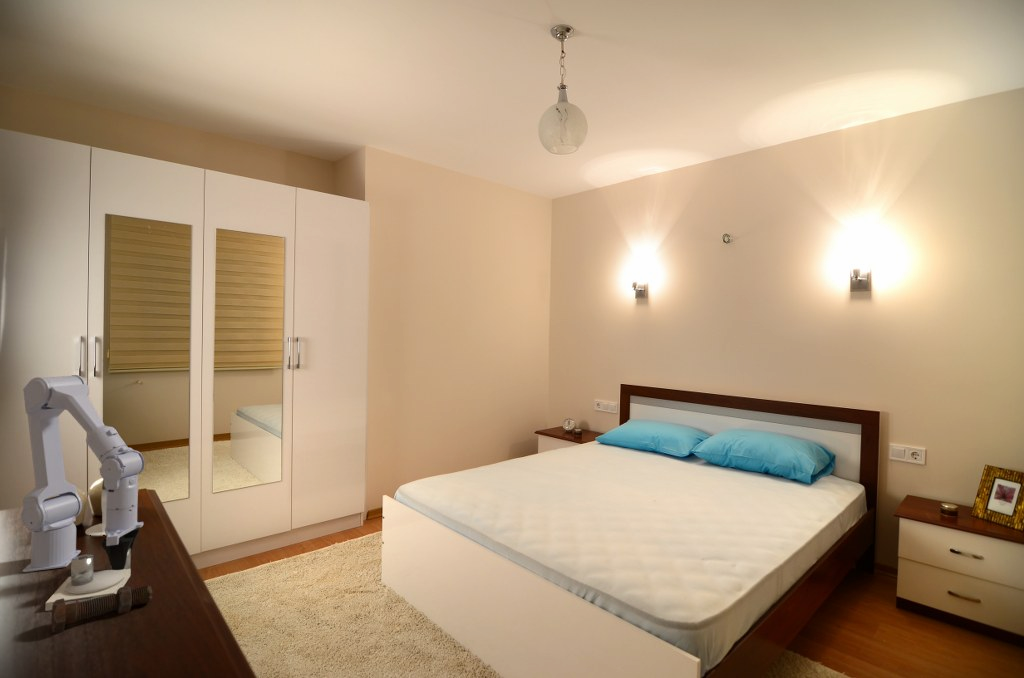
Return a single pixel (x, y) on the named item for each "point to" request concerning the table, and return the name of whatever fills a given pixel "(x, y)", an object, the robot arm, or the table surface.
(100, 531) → the white phone stand
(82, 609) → the bolt
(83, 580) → the spacer
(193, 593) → the table surface
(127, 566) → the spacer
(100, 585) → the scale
